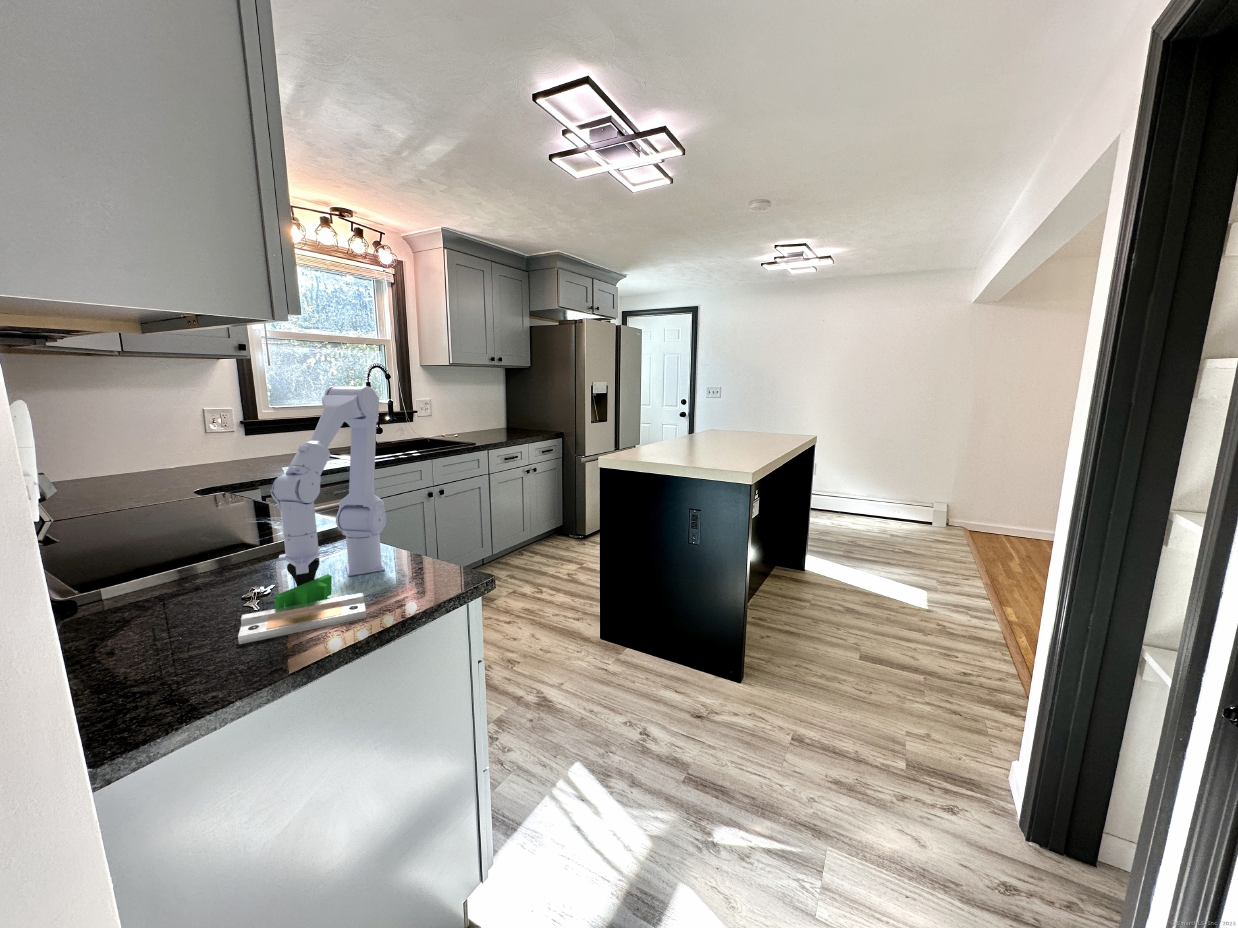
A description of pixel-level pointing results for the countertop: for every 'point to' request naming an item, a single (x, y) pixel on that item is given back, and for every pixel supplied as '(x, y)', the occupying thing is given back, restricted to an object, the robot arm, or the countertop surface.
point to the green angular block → (305, 593)
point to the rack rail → (301, 617)
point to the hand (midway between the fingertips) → (306, 595)
